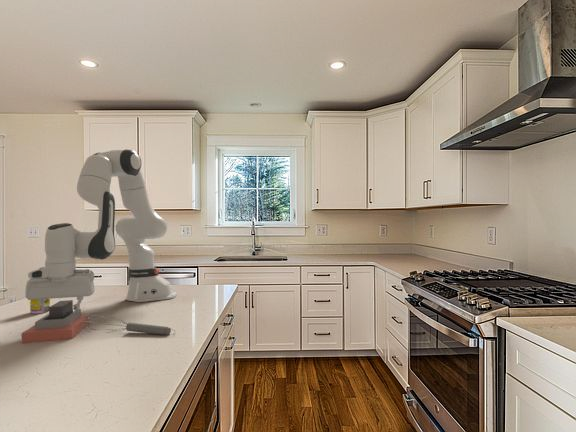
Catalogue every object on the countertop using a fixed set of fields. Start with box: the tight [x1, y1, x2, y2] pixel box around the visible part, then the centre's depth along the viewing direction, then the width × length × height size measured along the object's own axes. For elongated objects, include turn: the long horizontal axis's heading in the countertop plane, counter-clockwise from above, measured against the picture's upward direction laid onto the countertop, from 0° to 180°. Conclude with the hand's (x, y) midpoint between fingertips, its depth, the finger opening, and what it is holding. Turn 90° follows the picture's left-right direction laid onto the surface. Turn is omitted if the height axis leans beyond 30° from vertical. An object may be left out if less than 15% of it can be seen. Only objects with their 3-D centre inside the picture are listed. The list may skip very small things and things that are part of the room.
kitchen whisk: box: [82, 312, 176, 336], centre depth 115 cm, size 6×34×6 cm, turn 80°
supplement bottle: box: [29, 299, 51, 315], centre depth 142 cm, size 7×7×13 cm
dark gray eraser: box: [48, 299, 74, 320], centre depth 119 cm, size 4×9×6 cm, turn 13°
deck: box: [21, 308, 90, 344], centre depth 116 cm, size 14×16×6 cm
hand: (61, 310), depth 119 cm, fingers open, 8 cm apart
